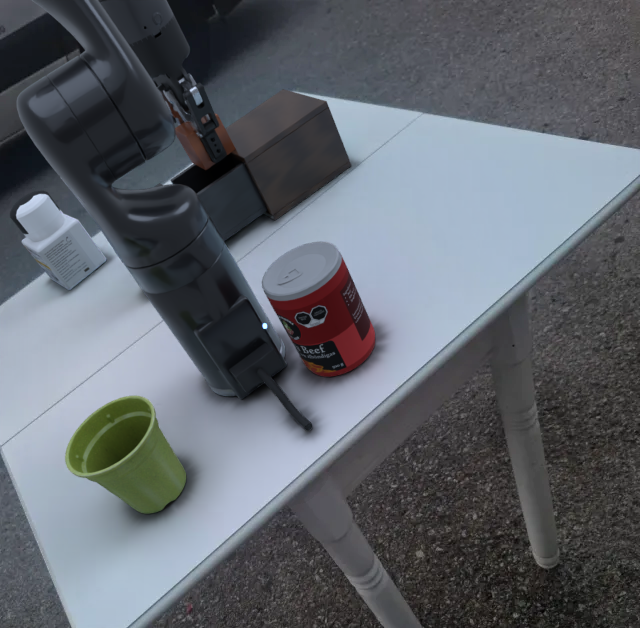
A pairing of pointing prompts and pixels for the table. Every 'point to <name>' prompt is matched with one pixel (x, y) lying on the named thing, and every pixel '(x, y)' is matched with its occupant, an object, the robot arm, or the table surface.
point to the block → (196, 147)
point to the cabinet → (289, 149)
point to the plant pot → (127, 454)
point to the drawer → (225, 193)
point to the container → (56, 239)
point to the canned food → (320, 308)
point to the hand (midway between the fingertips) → (211, 154)
